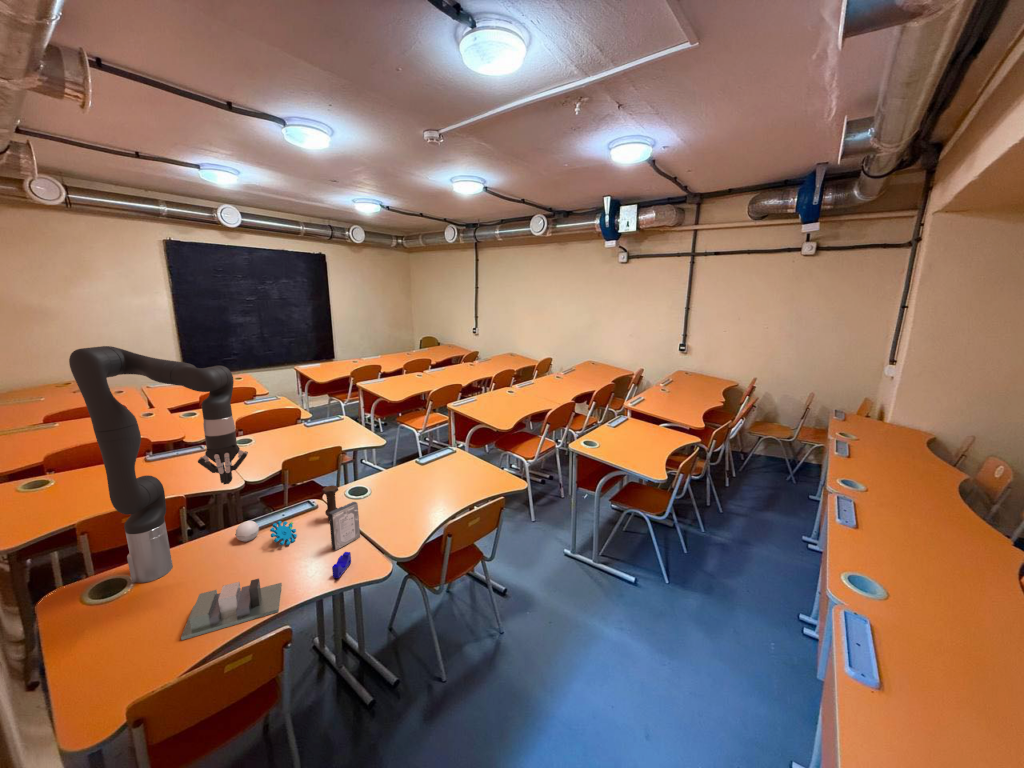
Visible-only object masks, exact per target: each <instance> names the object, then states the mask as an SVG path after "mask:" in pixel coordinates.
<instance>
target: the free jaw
mask: <svg viewBox="0 0 1024 768" xmlns="http://www.w3.org/2000/svg"><path fill="white" fill-rule="evenodd" d="M260 588H261V582H260V578H255V579H252V580H250V584H249V585H245V586H242V587H241V588H240V589H241V593H240V597H239V601H238V605H237V609H236V614H237V618H240V617H243V616H247V615H250V612H251V607H254V606H257V605H260V600H261V589H260Z"/></svg>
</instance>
